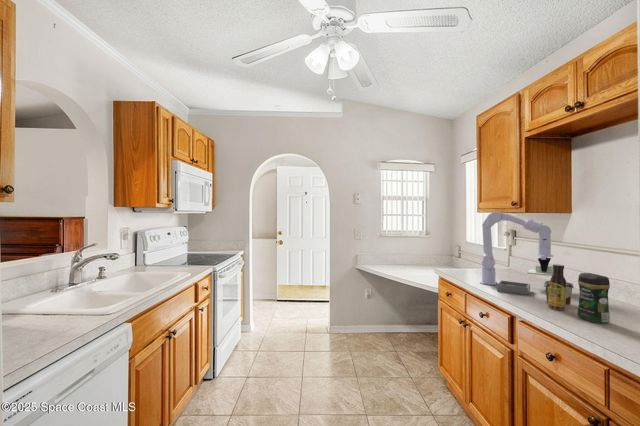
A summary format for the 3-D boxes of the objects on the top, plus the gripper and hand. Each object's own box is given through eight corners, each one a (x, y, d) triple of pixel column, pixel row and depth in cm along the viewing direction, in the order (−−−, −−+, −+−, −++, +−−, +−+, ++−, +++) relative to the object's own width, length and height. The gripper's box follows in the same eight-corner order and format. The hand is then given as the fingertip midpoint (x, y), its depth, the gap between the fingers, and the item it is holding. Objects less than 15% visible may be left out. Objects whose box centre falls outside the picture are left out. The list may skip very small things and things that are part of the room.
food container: (565, 301, 157) (565, 280, 157) (573, 305, 151) (573, 283, 151) (538, 300, 158) (538, 280, 158) (545, 304, 152) (545, 282, 152)
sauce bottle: (544, 307, 146) (545, 263, 147) (554, 306, 149) (554, 263, 149) (560, 311, 140) (560, 266, 140) (569, 310, 143) (569, 265, 143)
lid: (529, 270, 191) (529, 263, 191) (561, 273, 182) (561, 265, 182) (527, 273, 181) (527, 266, 181) (560, 277, 171) (560, 268, 171)
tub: (501, 287, 186) (501, 280, 186) (530, 291, 178) (530, 283, 178) (497, 291, 177) (497, 284, 177) (527, 295, 168) (527, 287, 168)
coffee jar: (573, 316, 134) (573, 271, 134) (591, 316, 134) (591, 271, 134) (595, 324, 124) (595, 276, 124) (614, 324, 125) (614, 276, 125)
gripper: (552, 248, 173) (552, 273, 173) (553, 246, 184) (553, 270, 184) (536, 247, 177) (536, 272, 177) (539, 245, 189) (539, 268, 189)
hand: (544, 271), depth 181 cm, fingers closed on lid, 4 cm apart
